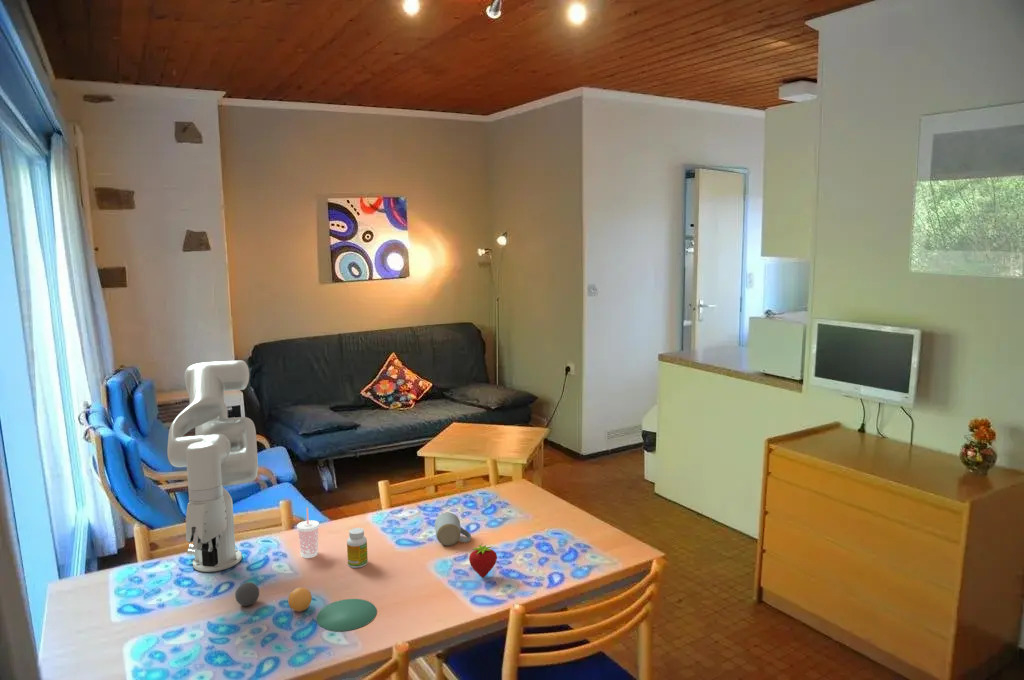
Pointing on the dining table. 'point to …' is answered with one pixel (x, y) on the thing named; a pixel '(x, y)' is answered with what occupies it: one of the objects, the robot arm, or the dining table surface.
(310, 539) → the beverage cup
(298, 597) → the orange ball
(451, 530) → the ceramic mug
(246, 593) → the charcoal cue ball
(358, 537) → the supplement bottle
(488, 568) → the strawberry
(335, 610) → the green ellipsoid
